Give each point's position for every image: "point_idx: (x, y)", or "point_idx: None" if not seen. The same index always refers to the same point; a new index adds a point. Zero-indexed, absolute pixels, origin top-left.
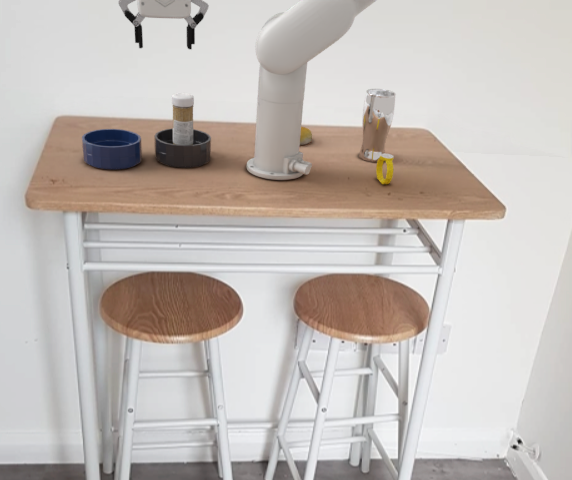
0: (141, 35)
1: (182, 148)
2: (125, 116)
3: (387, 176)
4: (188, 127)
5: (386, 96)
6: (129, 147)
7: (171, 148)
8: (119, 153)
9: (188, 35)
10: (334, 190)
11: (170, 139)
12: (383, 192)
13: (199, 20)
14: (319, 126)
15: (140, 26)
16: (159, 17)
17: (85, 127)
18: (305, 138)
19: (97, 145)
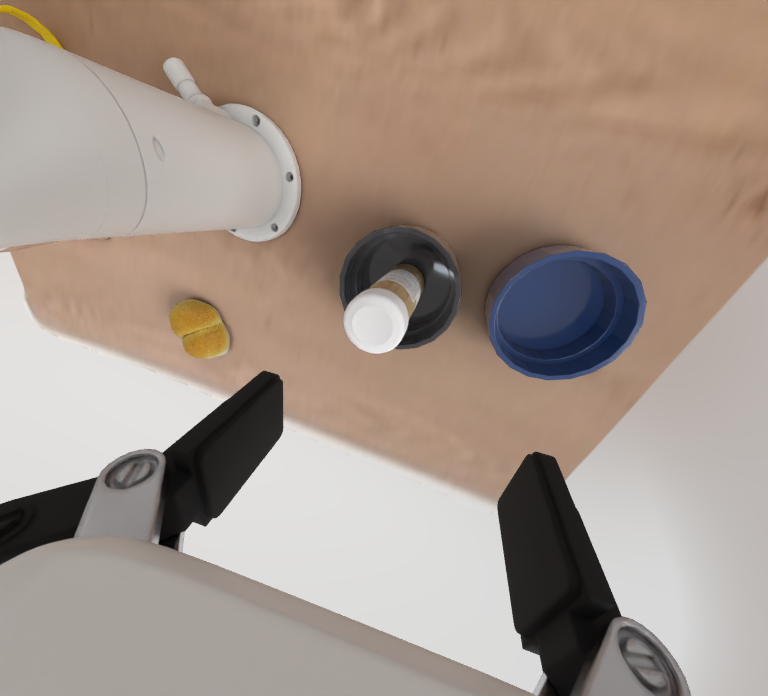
0: (559, 522)
1: (418, 229)
2: (434, 486)
3: (24, 13)
4: (384, 277)
5: None
6: (544, 256)
7: (440, 242)
8: (571, 248)
9: (230, 422)
10: (149, 21)
11: (412, 336)
12: None
13: (54, 499)
14: (170, 371)
15: (576, 610)
16: (414, 652)
17: (517, 467)
18: (182, 301)
19: (629, 273)
